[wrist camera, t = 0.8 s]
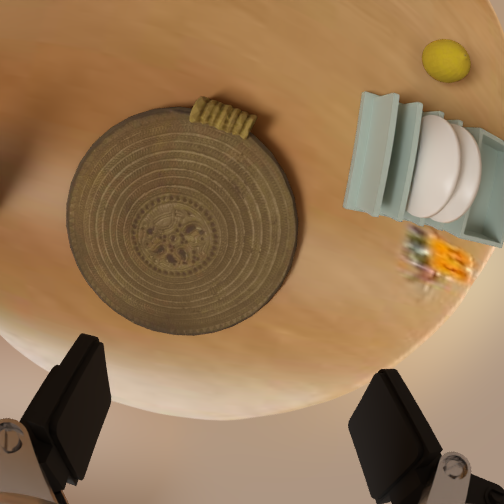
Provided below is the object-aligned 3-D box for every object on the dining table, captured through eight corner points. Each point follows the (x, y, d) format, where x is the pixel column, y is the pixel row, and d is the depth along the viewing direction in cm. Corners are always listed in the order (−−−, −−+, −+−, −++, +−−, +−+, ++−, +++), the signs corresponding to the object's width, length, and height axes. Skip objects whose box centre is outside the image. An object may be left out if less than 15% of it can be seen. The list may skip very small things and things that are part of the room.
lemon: (450, 70, 29) (487, 62, 22) (432, 93, 30) (470, 88, 23) (423, 39, 28) (458, 24, 20) (404, 62, 29) (439, 49, 22)
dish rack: (361, 92, 31) (415, 75, 19) (496, 148, 33) (554, 158, 21) (342, 206, 35) (387, 236, 24) (478, 236, 37) (531, 265, 26)
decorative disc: (56, 303, 36) (87, 73, 26) (66, 292, 39) (100, 77, 29) (252, 363, 40) (343, 142, 30) (252, 348, 43) (334, 141, 33)
